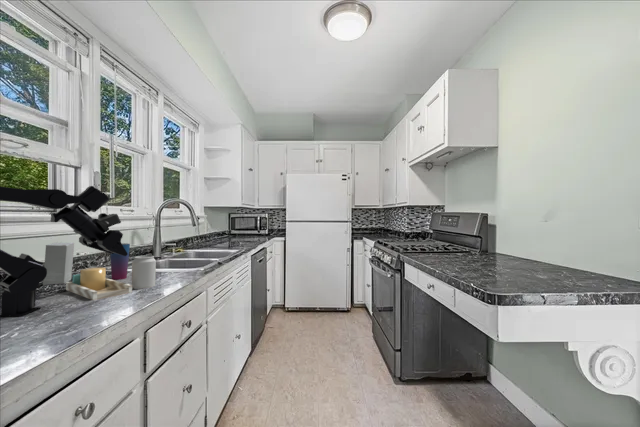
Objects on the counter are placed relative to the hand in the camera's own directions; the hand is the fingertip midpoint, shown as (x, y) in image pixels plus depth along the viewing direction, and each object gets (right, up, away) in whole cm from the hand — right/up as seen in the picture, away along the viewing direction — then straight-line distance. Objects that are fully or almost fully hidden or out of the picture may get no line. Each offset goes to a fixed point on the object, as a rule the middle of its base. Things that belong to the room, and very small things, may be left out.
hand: (119, 254), depth 99 cm
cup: (-14, -14, +19) cm, 28 cm away
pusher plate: (-15, -12, +4) cm, 20 cm away
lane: (-7, -13, -1) cm, 15 cm away
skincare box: (-32, -13, +12) cm, 37 cm away
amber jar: (-11, -13, +2) cm, 17 cm away
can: (+4, -14, +7) cm, 16 cm away
